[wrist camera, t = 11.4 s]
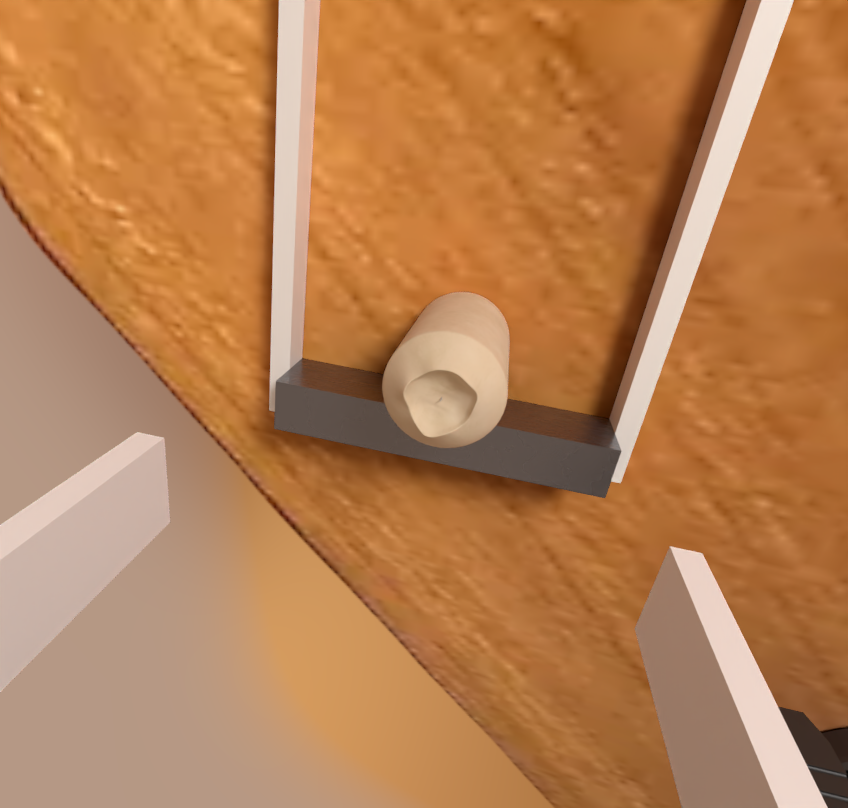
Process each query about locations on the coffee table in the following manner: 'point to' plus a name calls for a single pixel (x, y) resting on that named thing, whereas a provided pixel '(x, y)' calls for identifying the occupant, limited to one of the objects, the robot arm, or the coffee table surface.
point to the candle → (450, 372)
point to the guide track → (521, 422)
